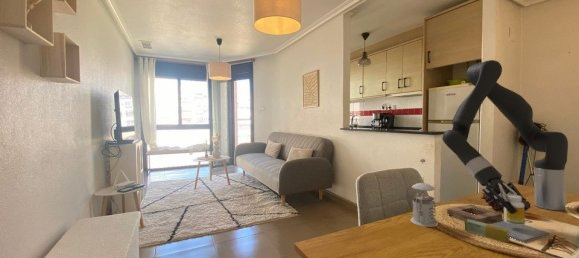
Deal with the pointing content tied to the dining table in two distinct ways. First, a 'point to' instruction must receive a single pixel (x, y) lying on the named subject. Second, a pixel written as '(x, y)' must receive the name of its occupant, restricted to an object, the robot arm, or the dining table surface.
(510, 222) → the supplement bottle
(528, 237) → the slate pad
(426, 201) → the french press
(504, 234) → the medication box
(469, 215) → the walnut collar
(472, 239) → the dining table surface
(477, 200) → the dining table surface
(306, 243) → the dining table surface
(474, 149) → the robot arm
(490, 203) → the pine cone
